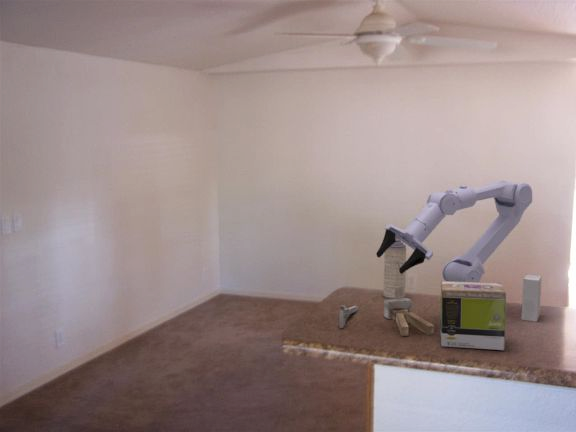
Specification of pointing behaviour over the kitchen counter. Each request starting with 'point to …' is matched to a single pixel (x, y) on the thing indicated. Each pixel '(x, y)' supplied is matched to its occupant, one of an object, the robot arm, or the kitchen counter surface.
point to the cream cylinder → (394, 271)
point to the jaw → (402, 323)
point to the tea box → (472, 315)
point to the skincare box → (531, 297)
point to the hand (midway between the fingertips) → (388, 263)
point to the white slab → (396, 305)
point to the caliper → (345, 314)
